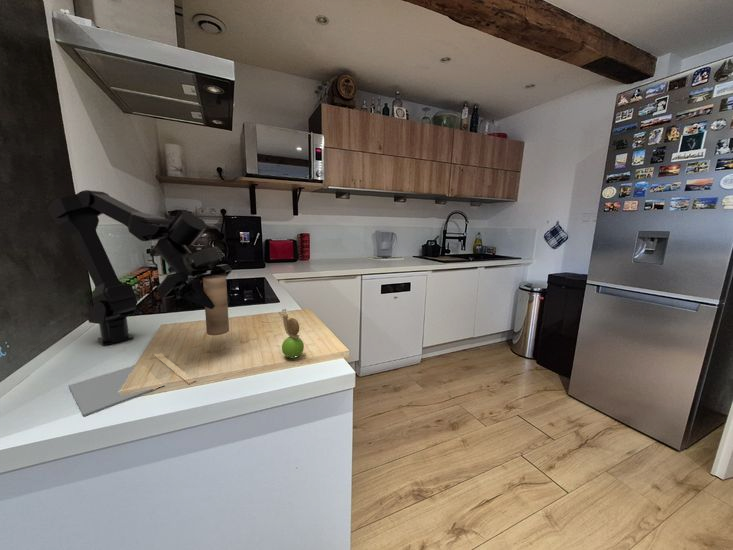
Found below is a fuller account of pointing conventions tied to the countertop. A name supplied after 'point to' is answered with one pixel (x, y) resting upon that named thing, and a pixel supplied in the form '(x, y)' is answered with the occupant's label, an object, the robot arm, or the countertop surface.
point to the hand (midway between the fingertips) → (221, 304)
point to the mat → (102, 391)
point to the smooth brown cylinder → (216, 304)
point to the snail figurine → (292, 337)
